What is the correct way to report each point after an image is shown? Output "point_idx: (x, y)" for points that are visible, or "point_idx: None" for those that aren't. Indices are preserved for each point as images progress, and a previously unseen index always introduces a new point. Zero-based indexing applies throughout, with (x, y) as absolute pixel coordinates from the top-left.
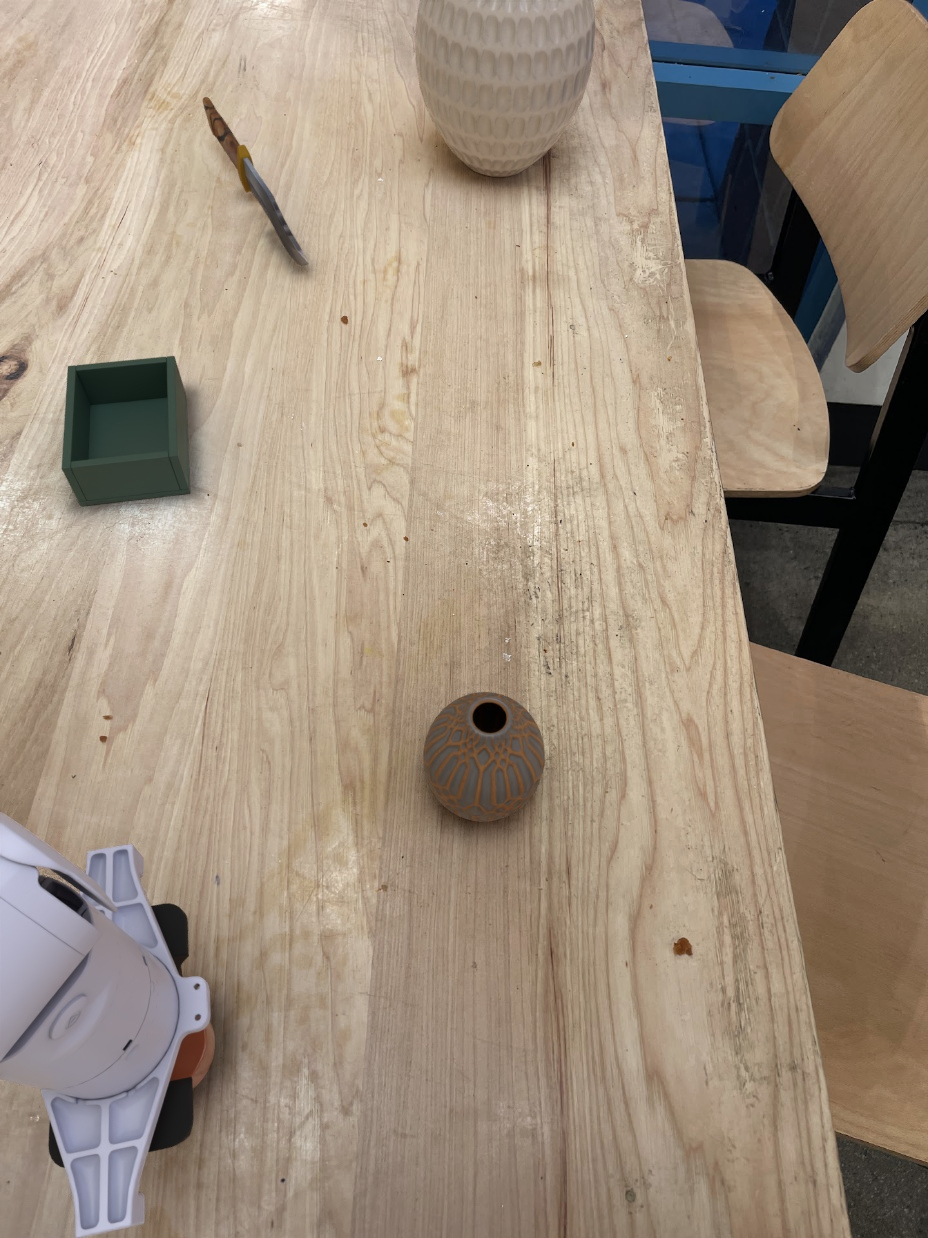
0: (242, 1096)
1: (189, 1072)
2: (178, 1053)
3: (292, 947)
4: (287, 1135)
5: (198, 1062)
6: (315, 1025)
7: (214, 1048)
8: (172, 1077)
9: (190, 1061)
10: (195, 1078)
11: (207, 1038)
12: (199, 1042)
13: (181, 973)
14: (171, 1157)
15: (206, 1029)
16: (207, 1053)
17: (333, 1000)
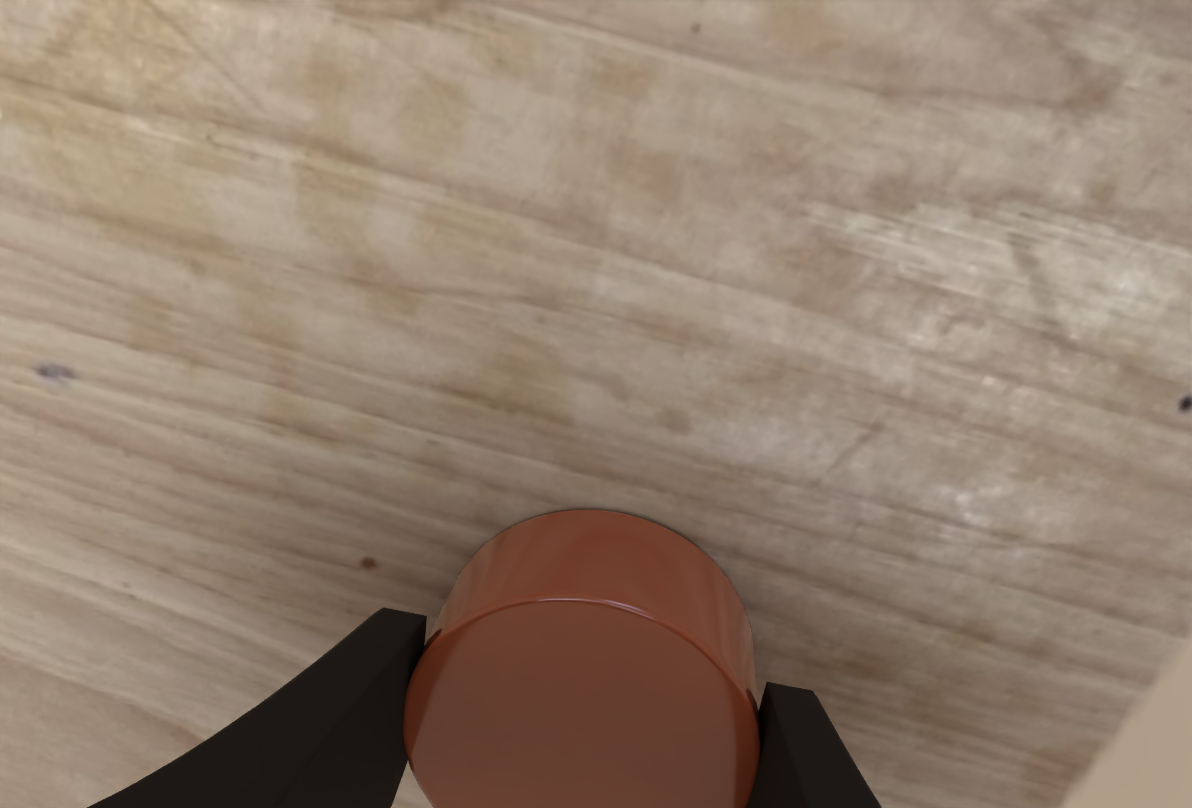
0: (838, 468)
1: (715, 683)
2: (632, 702)
3: (364, 152)
4: (1049, 351)
5: (693, 650)
6: (703, 136)
7: (644, 522)
8: (707, 734)
9: (676, 669)
10: (733, 637)
11: (614, 591)
12: (620, 628)
13: (321, 680)
14: (913, 702)
15: (580, 592)
16: (664, 586)
17: (631, 27)
